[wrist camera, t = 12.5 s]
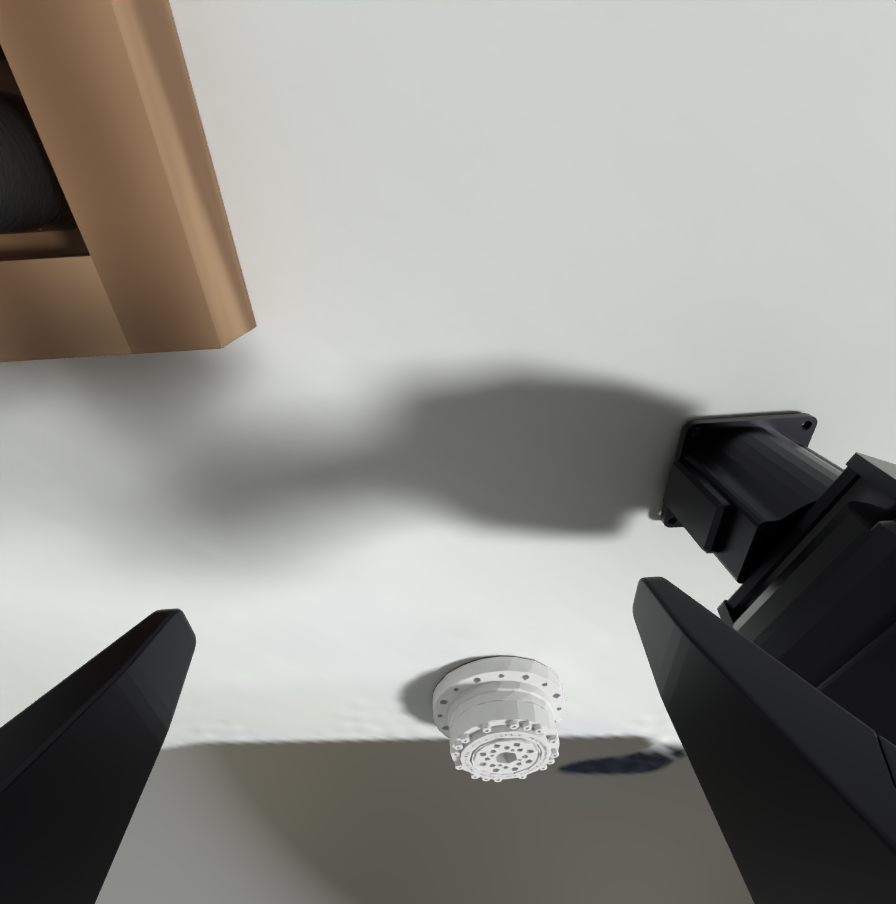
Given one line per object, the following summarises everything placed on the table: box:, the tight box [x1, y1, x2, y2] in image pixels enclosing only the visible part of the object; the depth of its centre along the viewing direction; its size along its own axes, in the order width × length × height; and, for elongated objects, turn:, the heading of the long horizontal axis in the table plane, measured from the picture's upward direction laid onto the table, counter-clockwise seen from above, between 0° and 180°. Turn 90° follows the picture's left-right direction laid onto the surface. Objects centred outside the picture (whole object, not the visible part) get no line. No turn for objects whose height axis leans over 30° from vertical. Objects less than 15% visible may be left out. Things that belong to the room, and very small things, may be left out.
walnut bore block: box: [0, 0, 256, 362], centre depth 14 cm, size 12×12×4 cm
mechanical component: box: [432, 657, 567, 782], centre depth 30 cm, size 10×4×10 cm
